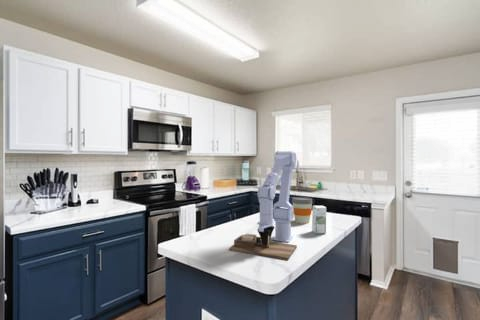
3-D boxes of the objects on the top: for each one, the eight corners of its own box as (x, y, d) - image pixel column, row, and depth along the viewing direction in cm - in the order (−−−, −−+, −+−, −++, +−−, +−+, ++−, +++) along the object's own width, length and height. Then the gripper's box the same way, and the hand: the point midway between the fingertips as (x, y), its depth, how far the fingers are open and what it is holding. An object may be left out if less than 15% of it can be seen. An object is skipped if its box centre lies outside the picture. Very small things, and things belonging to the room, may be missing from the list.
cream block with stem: (246, 241, 121) (246, 231, 121) (270, 245, 116) (270, 234, 116) (242, 245, 117) (242, 234, 117) (267, 249, 112) (267, 237, 112)
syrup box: (322, 231, 144) (322, 205, 144) (326, 234, 138) (326, 207, 138) (312, 231, 144) (312, 205, 144) (315, 234, 138) (315, 207, 138)
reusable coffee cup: (291, 219, 172) (291, 196, 172) (310, 219, 170) (311, 197, 170) (292, 223, 159) (292, 199, 159) (313, 224, 158) (313, 200, 157)
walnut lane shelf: (244, 239, 128) (244, 232, 128) (296, 247, 117) (296, 239, 117) (229, 250, 113) (229, 242, 113) (288, 260, 102) (288, 251, 102)
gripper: (263, 209, 123) (262, 237, 123) (251, 215, 110) (251, 247, 110) (277, 210, 120) (277, 240, 120) (267, 217, 107) (267, 250, 107)
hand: (265, 243), depth 115 cm, fingers closed on cream block with stem, 3 cm apart
